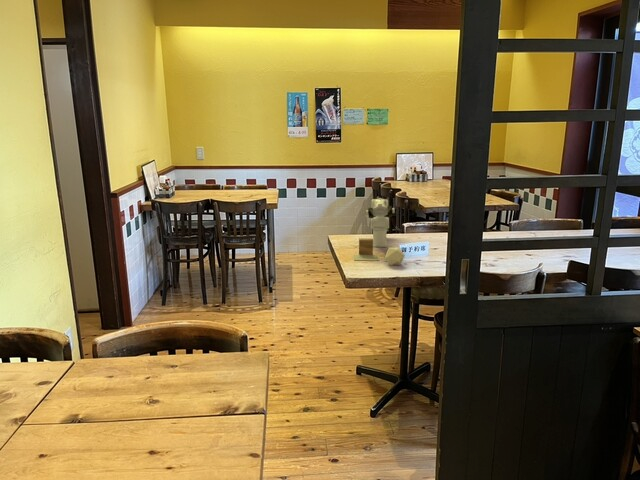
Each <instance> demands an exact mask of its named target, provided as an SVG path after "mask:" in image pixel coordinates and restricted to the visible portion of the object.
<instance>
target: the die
mask: <svg viewBox="0 0 640 480" xmlns="http://www.w3.org/2000/svg"><path fill="white" fill-rule="evenodd" d="M384 258H385V260H386V261H387V263H388V264H389V265H390V266H399V265H402V262H403V260H404V258H405V254H404V252H403V251H402V250H401V248H400V247H388V249H387V251H386V254H385V256H384Z"/></svg>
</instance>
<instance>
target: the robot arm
mask: <svg viewBox="0 0 640 480" xmlns="http://www.w3.org/2000/svg"><path fill="white" fill-rule="evenodd" d="M370 206H371V207H368V208H367V210H365V212H366V216H368V218H369V219H370V228H371V229H372V239H373V248H374V247H376V248H381V247H382V248H385V247H388V242H387V230H388V229H390V218H392V217H393V216H394V214H395V213H396V211H395V208H394V207H392V205H389V200H388V199H387V198H386V199H385V198H381V197H379V198H373V199H371V205H370Z"/></svg>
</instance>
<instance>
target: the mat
mask: <svg viewBox="0 0 640 480" xmlns="http://www.w3.org/2000/svg"><path fill="white" fill-rule="evenodd" d="M353 260H354V262H356V261H358V262H359V261H364V262H365V261H367V262H368V261H369V262H373V261H375V262H376V261H377V262H379V261H380V260H379V255H378V254H377V255H376V254H373V255H359V254H354V255H353Z"/></svg>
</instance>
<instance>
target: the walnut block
mask: <svg viewBox="0 0 640 480" xmlns="http://www.w3.org/2000/svg"><path fill="white" fill-rule="evenodd" d="M373 253H374V247H373V238H358V255H374V254H373Z"/></svg>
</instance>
